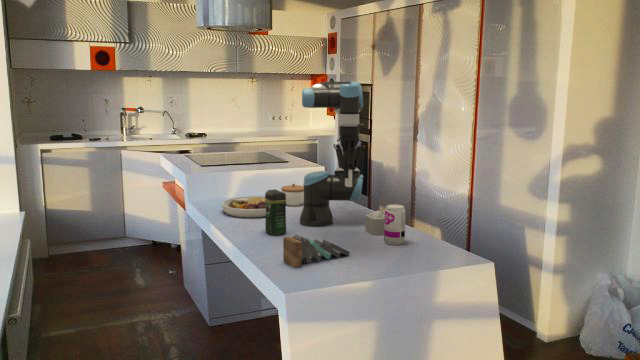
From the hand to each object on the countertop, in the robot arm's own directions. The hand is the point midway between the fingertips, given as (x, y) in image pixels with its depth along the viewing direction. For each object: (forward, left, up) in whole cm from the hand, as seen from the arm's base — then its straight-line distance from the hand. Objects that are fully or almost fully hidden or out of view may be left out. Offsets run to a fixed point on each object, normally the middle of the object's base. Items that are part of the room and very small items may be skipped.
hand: (348, 186), depth 234 cm
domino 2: (+19, +7, -24) cm, 31 cm away
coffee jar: (+14, -34, -25) cm, 44 cm away
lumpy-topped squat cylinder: (-26, -12, -25) cm, 38 cm away
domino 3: (+15, +7, -24) cm, 29 cm away
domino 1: (+23, +7, -24) cm, 34 cm away
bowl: (+5, -75, -25) cm, 79 cm away
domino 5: (+6, +7, -24) cm, 25 cm away
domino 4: (+10, +7, -24) cm, 27 cm away
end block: (+29, +7, -24) cm, 38 cm away
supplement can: (-20, +4, -25) cm, 32 cm away
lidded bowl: (-20, -79, -25) cm, 85 cm away
